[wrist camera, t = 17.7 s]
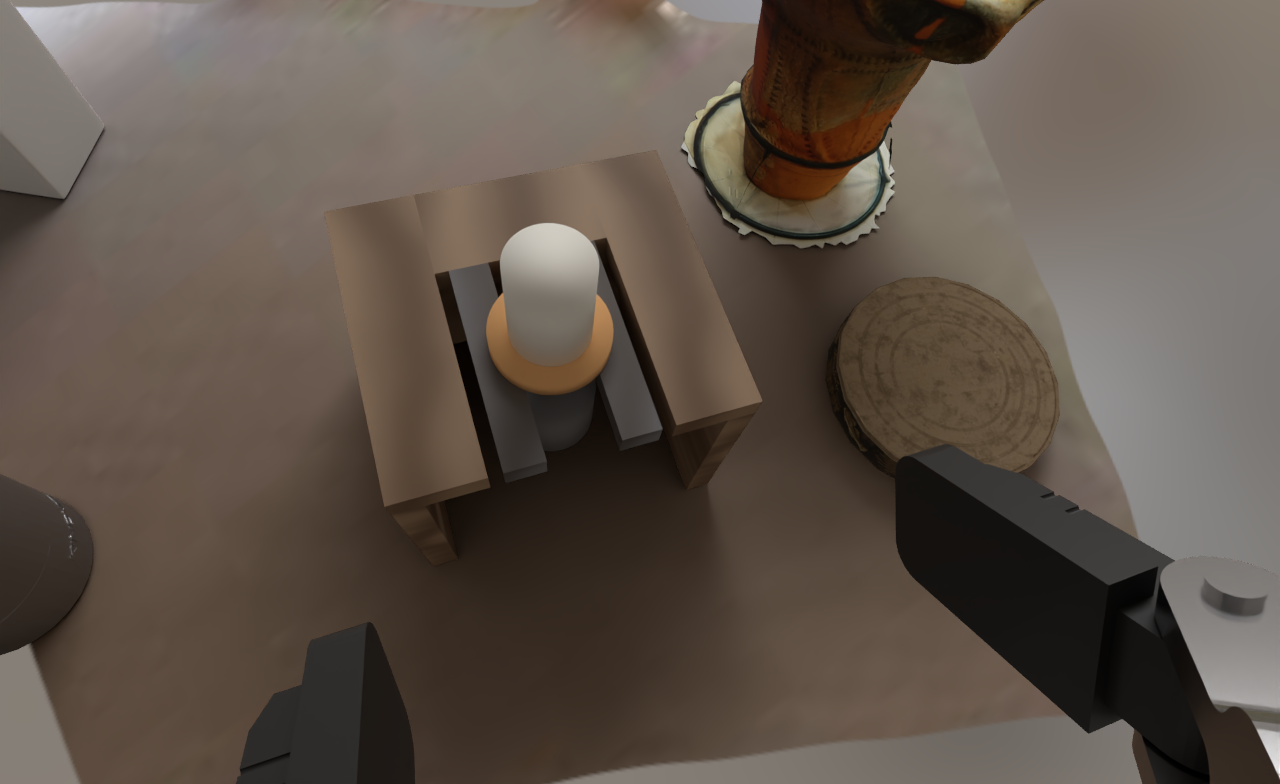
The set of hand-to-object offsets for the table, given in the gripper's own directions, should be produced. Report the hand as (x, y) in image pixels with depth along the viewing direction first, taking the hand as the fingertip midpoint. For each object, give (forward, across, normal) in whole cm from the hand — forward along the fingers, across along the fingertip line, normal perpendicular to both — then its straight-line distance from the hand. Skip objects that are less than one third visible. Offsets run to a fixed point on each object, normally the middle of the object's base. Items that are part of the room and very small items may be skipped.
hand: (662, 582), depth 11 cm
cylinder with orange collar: (+32, -2, +11) cm, 34 cm away
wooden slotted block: (+36, -2, +13) cm, 39 cm away
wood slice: (+32, -30, +17) cm, 47 cm away
